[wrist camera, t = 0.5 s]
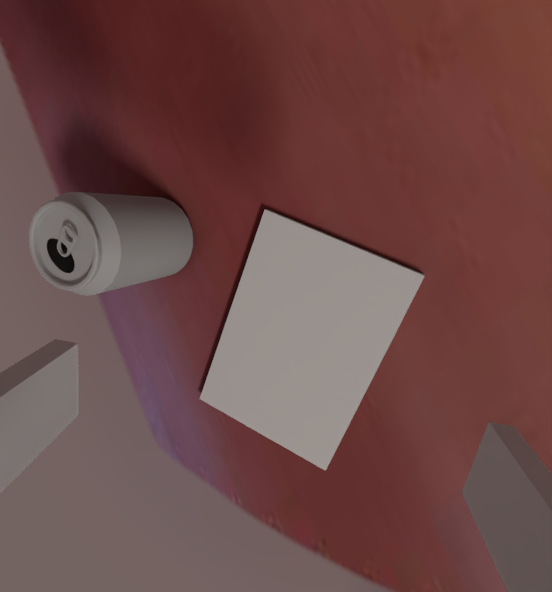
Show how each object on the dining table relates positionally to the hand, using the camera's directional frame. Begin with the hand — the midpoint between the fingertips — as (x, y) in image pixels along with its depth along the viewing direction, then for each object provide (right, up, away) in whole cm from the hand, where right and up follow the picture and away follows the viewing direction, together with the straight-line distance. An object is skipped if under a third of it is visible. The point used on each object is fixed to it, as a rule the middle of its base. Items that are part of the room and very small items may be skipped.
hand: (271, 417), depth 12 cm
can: (-11, +10, +25) cm, 29 cm away
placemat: (+2, 0, +22) cm, 22 cm away
